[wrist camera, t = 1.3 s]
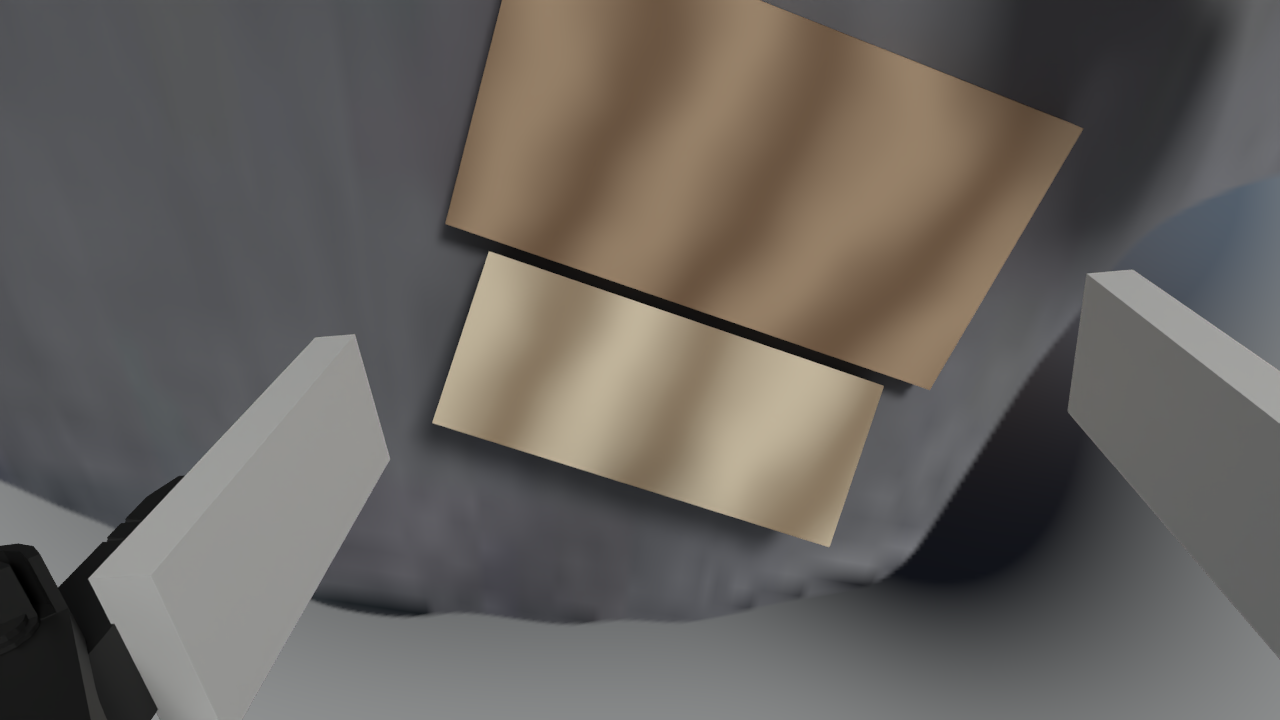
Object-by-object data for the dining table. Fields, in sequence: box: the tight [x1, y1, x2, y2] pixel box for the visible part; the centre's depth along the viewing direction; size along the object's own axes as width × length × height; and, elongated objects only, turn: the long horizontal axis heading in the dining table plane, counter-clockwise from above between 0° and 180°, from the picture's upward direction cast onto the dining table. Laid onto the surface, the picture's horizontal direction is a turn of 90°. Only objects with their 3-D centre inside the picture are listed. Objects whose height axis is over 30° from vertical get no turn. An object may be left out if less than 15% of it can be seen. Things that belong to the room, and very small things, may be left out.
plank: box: [432, 251, 884, 547], centre depth 36 cm, size 18×8×2 cm, turn 70°
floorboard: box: [445, 0, 1083, 390], centre depth 33 cm, size 22×12×2 cm, turn 70°
